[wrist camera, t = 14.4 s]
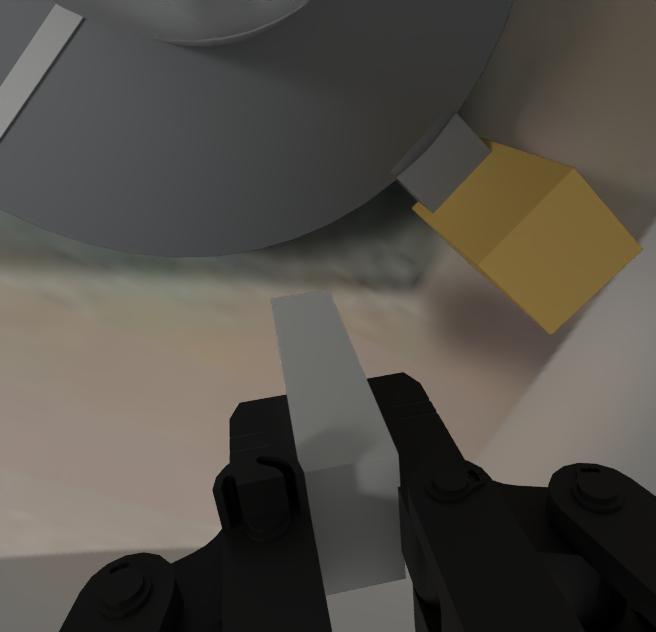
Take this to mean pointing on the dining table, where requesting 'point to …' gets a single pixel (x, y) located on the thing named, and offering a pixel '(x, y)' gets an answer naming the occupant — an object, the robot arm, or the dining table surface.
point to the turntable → (290, 142)
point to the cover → (187, 18)
